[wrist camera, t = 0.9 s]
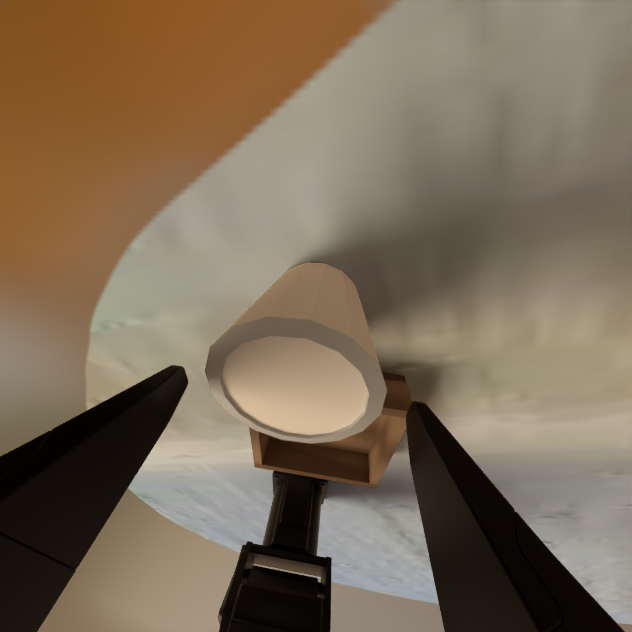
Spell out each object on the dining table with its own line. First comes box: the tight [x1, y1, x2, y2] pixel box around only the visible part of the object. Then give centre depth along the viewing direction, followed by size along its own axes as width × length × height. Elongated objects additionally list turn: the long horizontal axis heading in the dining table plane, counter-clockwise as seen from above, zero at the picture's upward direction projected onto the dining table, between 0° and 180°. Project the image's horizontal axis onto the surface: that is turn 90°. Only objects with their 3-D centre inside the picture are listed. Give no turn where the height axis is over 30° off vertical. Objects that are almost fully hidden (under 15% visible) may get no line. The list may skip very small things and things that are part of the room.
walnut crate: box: [249, 373, 412, 488], centre depth 19 cm, size 11×11×3 cm
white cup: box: [205, 262, 387, 444], centre depth 11 cm, size 7×7×7 cm
